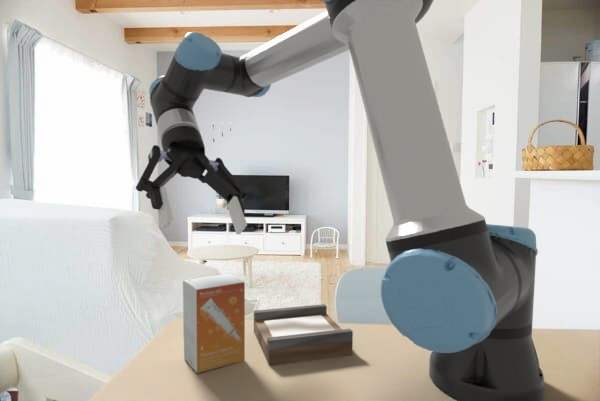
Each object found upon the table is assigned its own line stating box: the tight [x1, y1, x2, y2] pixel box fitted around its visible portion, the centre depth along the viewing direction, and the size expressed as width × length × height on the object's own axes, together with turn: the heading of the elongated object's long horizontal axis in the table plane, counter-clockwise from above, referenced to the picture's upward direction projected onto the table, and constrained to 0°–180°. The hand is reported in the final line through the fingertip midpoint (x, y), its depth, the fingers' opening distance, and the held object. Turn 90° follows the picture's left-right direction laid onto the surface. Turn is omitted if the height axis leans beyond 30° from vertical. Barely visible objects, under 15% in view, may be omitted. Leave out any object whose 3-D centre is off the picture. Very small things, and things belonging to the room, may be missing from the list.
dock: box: [253, 303, 354, 366], centre depth 74 cm, size 14×14×4 cm
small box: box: [182, 273, 246, 374], centre depth 67 cm, size 8×6×13 cm
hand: (207, 227), depth 69 cm, fingers open, 13 cm apart
